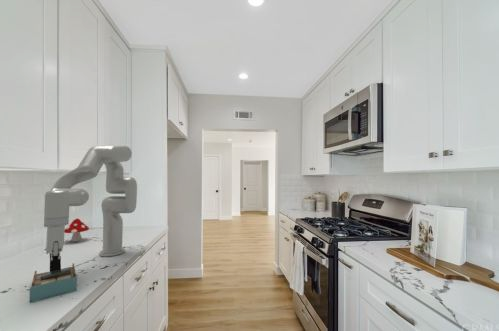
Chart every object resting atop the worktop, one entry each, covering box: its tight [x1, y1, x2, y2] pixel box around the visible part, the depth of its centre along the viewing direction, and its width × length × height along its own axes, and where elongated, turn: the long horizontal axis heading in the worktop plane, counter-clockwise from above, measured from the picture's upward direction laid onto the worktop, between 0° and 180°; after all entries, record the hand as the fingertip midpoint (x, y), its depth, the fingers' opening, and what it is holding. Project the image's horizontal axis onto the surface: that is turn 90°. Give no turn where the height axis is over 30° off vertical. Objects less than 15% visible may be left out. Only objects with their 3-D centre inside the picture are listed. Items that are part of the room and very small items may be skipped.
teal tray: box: [29, 276, 78, 303], centre depth 86 cm, size 8×13×5 cm, turn 130°
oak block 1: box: [41, 278, 55, 285], centre depth 85 cm, size 4×4×4 cm
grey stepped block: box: [40, 252, 72, 281], centre depth 90 cm, size 3×9×10 cm, turn 130°
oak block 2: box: [57, 274, 71, 281], centre depth 89 cm, size 4×4×4 cm
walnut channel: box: [31, 263, 77, 287], centre depth 95 cm, size 14×13×4 cm
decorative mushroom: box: [64, 218, 90, 243], centre depth 153 cm, size 14×14×15 cm
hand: (55, 268), depth 90 cm, fingers closed on grey stepped block, 3 cm apart
